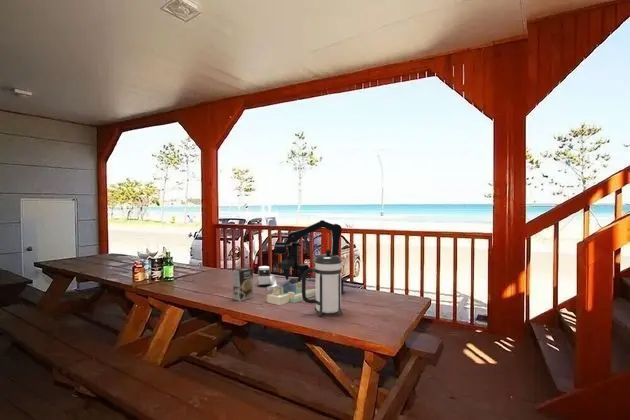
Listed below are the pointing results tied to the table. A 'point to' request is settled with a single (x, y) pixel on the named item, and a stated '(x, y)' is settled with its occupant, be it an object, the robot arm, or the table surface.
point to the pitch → (289, 295)
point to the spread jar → (265, 277)
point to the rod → (286, 286)
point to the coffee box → (242, 284)
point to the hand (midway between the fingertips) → (293, 280)
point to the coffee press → (326, 284)
